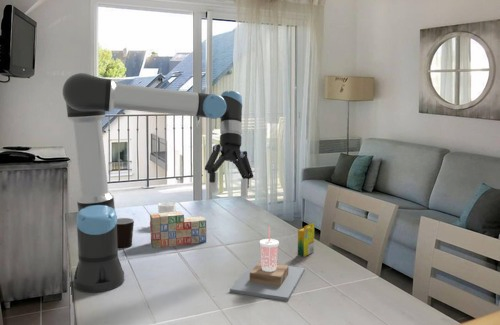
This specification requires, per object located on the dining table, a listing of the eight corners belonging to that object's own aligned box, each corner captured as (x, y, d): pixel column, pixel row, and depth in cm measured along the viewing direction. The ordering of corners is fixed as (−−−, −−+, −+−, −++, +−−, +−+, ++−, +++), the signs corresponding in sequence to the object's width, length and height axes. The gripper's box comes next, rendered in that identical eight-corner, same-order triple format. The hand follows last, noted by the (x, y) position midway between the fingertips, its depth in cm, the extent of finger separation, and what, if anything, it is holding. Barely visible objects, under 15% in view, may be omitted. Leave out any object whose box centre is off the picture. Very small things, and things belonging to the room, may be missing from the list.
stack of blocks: (202, 238, 190) (202, 209, 188) (206, 242, 184) (206, 212, 182) (150, 243, 182) (149, 213, 181) (152, 248, 177) (152, 217, 175)
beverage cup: (278, 265, 149) (279, 223, 147) (278, 272, 143) (279, 229, 141) (259, 265, 149) (260, 223, 147) (259, 272, 143) (259, 228, 141)
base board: (288, 301, 132) (288, 297, 132) (229, 292, 138) (229, 288, 138) (304, 271, 155) (304, 268, 155) (253, 264, 161) (253, 261, 160)
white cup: (155, 227, 204) (154, 205, 202) (163, 222, 211) (163, 201, 210) (171, 228, 201) (170, 206, 200) (179, 224, 209) (178, 202, 207)
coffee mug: (128, 250, 173) (127, 224, 172) (107, 248, 175) (106, 223, 174) (141, 240, 185) (141, 216, 183) (121, 239, 186) (121, 215, 185)
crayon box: (307, 250, 176) (308, 220, 174) (314, 252, 174) (315, 222, 172) (296, 255, 170) (297, 225, 168) (303, 257, 168) (304, 226, 166)
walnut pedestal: (280, 289, 140) (280, 276, 140) (249, 284, 143) (249, 272, 143) (288, 277, 150) (288, 265, 149) (258, 273, 153) (259, 261, 152)
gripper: (249, 143, 171) (248, 200, 167) (195, 129, 155) (193, 191, 150) (263, 140, 166) (263, 198, 161) (209, 124, 149) (207, 189, 144)
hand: (229, 195), depth 155 cm, fingers open, 13 cm apart
